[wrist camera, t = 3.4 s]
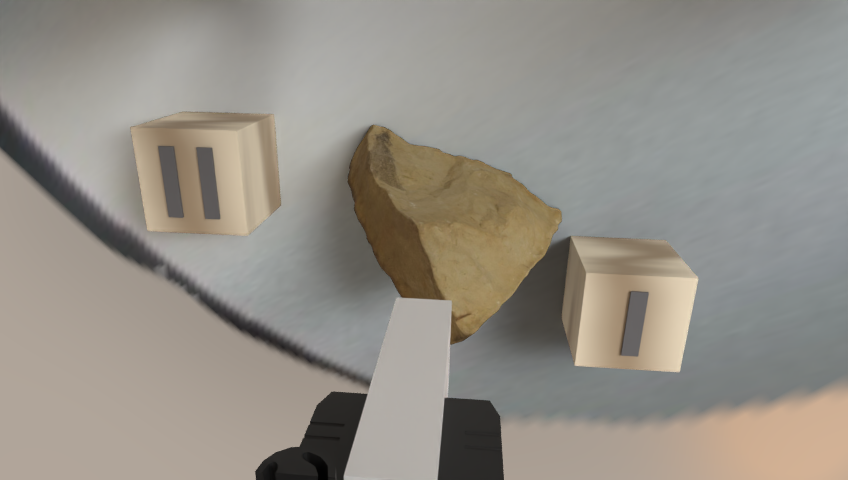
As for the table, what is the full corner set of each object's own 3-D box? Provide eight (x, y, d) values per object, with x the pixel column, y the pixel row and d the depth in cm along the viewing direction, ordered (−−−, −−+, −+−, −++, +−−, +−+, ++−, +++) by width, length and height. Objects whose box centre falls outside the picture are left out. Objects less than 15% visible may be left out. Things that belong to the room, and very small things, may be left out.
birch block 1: (274, 114, 30) (236, 131, 26) (281, 204, 32) (246, 236, 27) (183, 111, 31) (128, 127, 26) (195, 201, 32) (146, 231, 28)
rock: (284, 175, 29) (385, 340, 30) (321, 130, 21) (456, 356, 22) (447, 87, 33) (530, 235, 34) (529, 21, 25) (634, 217, 26)
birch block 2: (665, 239, 31) (699, 279, 26) (650, 322, 33) (680, 373, 28) (570, 235, 31) (586, 273, 26) (561, 317, 33) (575, 367, 28)
